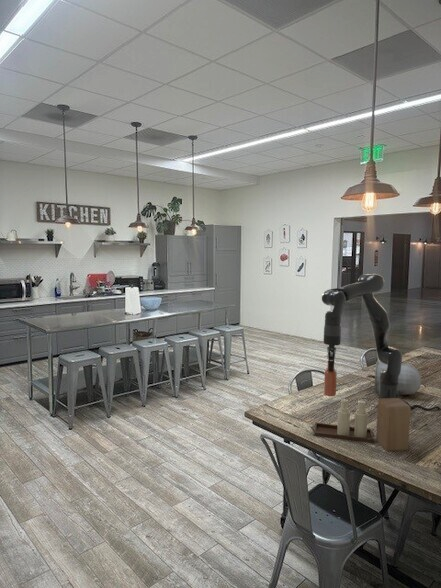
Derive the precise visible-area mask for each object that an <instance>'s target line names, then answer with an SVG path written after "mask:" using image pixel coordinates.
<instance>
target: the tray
mask: <svg viewBox="0 0 441 588" xmlns="http://www.w3.org/2000/svg"><path fill="white" fill-rule="evenodd" d="M313 436H315V437H322V438H330V439H331V438H332V439H339V440H347V441H353V442H360V443H370V444H371V443H372V444H374V443H375V437H374V434H373V429H372V428H367V437H366V438H362V437H355V436H354V426H350V430H349V436H346V435H338V434H337V424H331V423H322V422H314V432H313Z"/></svg>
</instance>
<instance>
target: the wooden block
mask: <svg viewBox="0 0 441 588" xmlns="http://www.w3.org/2000/svg"><path fill="white" fill-rule="evenodd" d="M404 401H405V400H402V398H401V399H399V398H381V399H379V398H378V399H377V415H376V432H375V433H376V434H375V440H376V442H377V443H378V444H379V445H380V446H381V447H382V448H383V449H384V450H385V451H386V452H396V451H397V452H399V451H408V450H409V440H410V439H409V437H410V426H411V425H410V424H411V423H410V422H411V409H412V408H410V406H411V405H410V406H409V405H408V404H406V403H405V402H406V401H405V402H404Z"/></svg>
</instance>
